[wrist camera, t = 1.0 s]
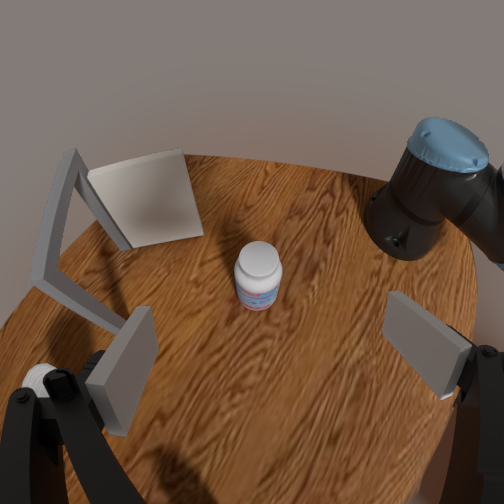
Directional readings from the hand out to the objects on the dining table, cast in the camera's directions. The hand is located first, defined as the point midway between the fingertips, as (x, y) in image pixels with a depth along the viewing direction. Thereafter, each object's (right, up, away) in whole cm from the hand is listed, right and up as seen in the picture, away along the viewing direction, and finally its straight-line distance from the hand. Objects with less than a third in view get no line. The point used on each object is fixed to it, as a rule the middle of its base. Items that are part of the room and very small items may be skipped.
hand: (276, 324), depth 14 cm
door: (-16, +7, +32) cm, 36 cm away
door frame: (-22, -2, +28) cm, 36 cm away
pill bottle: (0, -2, +28) cm, 28 cm away
